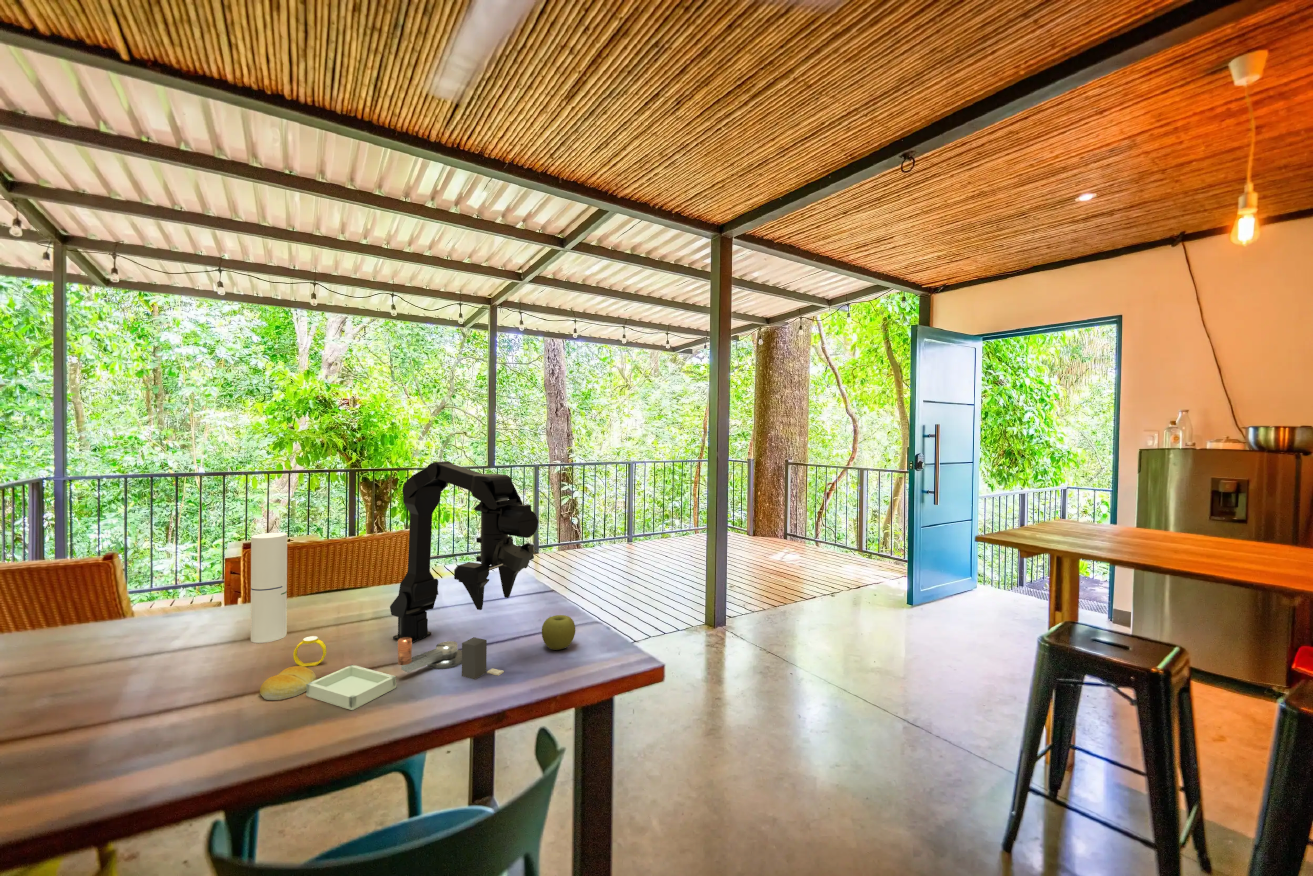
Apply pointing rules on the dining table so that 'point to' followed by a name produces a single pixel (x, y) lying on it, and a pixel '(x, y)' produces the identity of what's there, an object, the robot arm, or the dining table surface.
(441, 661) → the hub plate
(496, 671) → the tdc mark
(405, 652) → the crank
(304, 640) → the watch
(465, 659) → the dark gray rectangular block
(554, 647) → the apple
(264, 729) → the dining table surface
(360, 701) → the tray
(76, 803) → the dining table surface
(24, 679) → the dining table surface
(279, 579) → the cylindrical container
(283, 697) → the bread roll
